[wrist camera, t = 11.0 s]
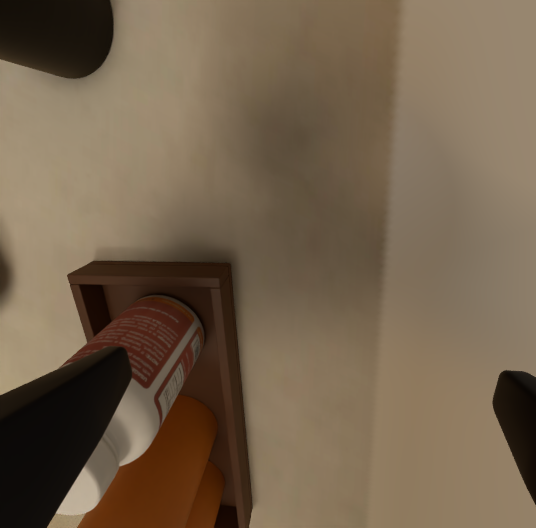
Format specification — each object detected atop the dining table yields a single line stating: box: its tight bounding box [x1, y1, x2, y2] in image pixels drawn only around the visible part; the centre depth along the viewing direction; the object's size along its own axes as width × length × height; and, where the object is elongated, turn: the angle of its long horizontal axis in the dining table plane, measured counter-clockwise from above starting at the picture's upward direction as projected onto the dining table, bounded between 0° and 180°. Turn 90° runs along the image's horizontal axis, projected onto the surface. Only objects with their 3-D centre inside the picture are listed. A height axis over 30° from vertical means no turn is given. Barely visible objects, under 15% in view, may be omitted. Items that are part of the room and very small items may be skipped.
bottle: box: [77, 395, 218, 528], centre depth 21 cm, size 6×6×11 cm
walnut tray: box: [67, 261, 252, 528], centre depth 25 cm, size 26×10×3 cm, turn 2°
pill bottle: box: [56, 295, 204, 515], centre depth 17 cm, size 6×6×11 cm
